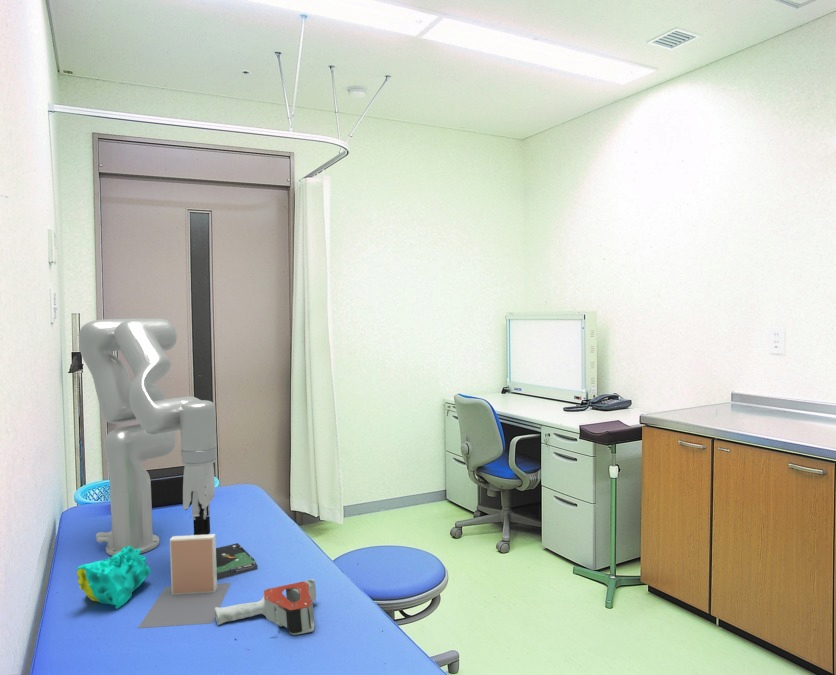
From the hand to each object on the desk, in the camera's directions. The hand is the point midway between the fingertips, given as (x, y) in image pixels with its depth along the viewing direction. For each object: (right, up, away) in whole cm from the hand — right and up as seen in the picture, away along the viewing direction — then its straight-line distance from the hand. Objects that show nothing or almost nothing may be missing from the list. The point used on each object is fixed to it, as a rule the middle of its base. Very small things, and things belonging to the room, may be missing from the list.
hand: (202, 534), depth 136 cm
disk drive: (+3, -11, +7) cm, 13 cm away
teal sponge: (-15, -11, -9) cm, 21 cm away
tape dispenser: (+21, -11, -17) cm, 29 cm away
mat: (+1, -11, -12) cm, 16 cm away
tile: (+1, -10, -7) cm, 12 cm away
